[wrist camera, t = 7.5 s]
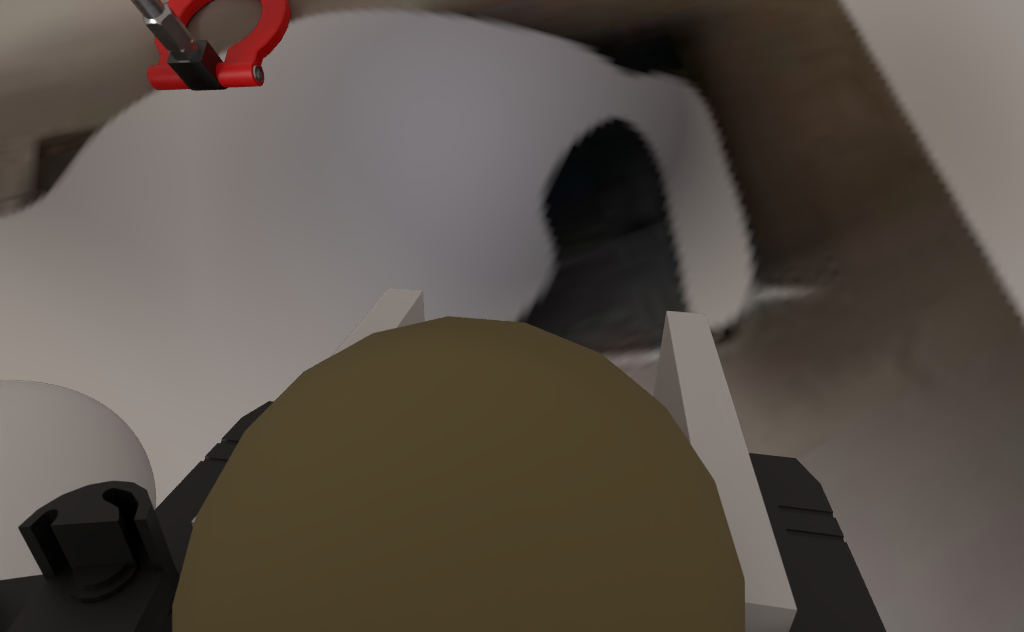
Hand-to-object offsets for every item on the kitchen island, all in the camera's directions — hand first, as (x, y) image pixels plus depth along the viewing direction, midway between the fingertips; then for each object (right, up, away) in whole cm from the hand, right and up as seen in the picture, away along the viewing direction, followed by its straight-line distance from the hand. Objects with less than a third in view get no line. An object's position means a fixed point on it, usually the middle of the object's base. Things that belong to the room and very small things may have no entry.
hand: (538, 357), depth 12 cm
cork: (0, -5, +2) cm, 5 cm away
